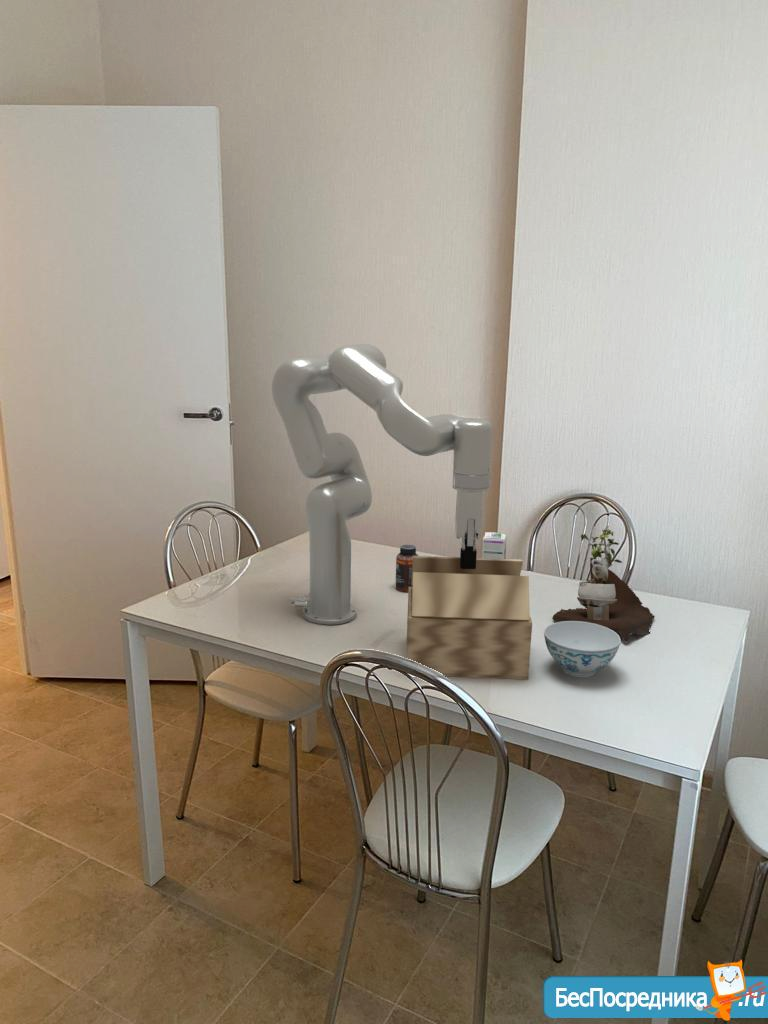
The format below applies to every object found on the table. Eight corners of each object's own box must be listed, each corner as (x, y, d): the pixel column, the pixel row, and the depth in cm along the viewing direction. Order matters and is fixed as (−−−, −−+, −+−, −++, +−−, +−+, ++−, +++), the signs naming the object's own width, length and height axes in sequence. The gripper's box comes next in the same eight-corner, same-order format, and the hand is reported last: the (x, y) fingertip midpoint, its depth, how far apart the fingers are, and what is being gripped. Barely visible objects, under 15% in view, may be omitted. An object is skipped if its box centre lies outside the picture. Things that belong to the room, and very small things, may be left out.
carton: (406, 674, 164) (408, 618, 161) (406, 638, 181) (408, 586, 178) (527, 679, 163) (532, 622, 160) (516, 642, 181) (520, 590, 178)
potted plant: (549, 634, 192) (553, 527, 193) (585, 631, 207) (588, 531, 208) (631, 643, 180) (635, 528, 181) (663, 639, 194) (667, 533, 196)
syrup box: (502, 593, 210) (506, 539, 207) (479, 591, 212) (482, 537, 208) (504, 586, 216) (507, 533, 212) (481, 584, 217) (484, 531, 213)
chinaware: (570, 692, 158) (573, 655, 156) (527, 661, 172) (529, 626, 170) (632, 680, 164) (636, 644, 162) (586, 650, 178) (589, 617, 176)
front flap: (411, 616, 161) (411, 615, 160) (412, 572, 164) (413, 572, 163) (529, 620, 160) (529, 619, 160) (528, 576, 163) (528, 576, 163)
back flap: (412, 557, 172) (412, 555, 172) (411, 585, 178) (411, 583, 178) (522, 561, 171) (522, 559, 172) (517, 588, 178) (517, 587, 178)
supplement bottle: (422, 587, 213) (424, 545, 210) (411, 594, 208) (412, 551, 205) (402, 583, 216) (404, 541, 213) (390, 589, 211) (392, 547, 208)
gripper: (451, 473, 173) (448, 556, 178) (453, 488, 159) (450, 579, 163) (487, 473, 173) (483, 557, 178) (493, 489, 159) (488, 580, 163)
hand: (467, 567), depth 170 cm, fingers closed
